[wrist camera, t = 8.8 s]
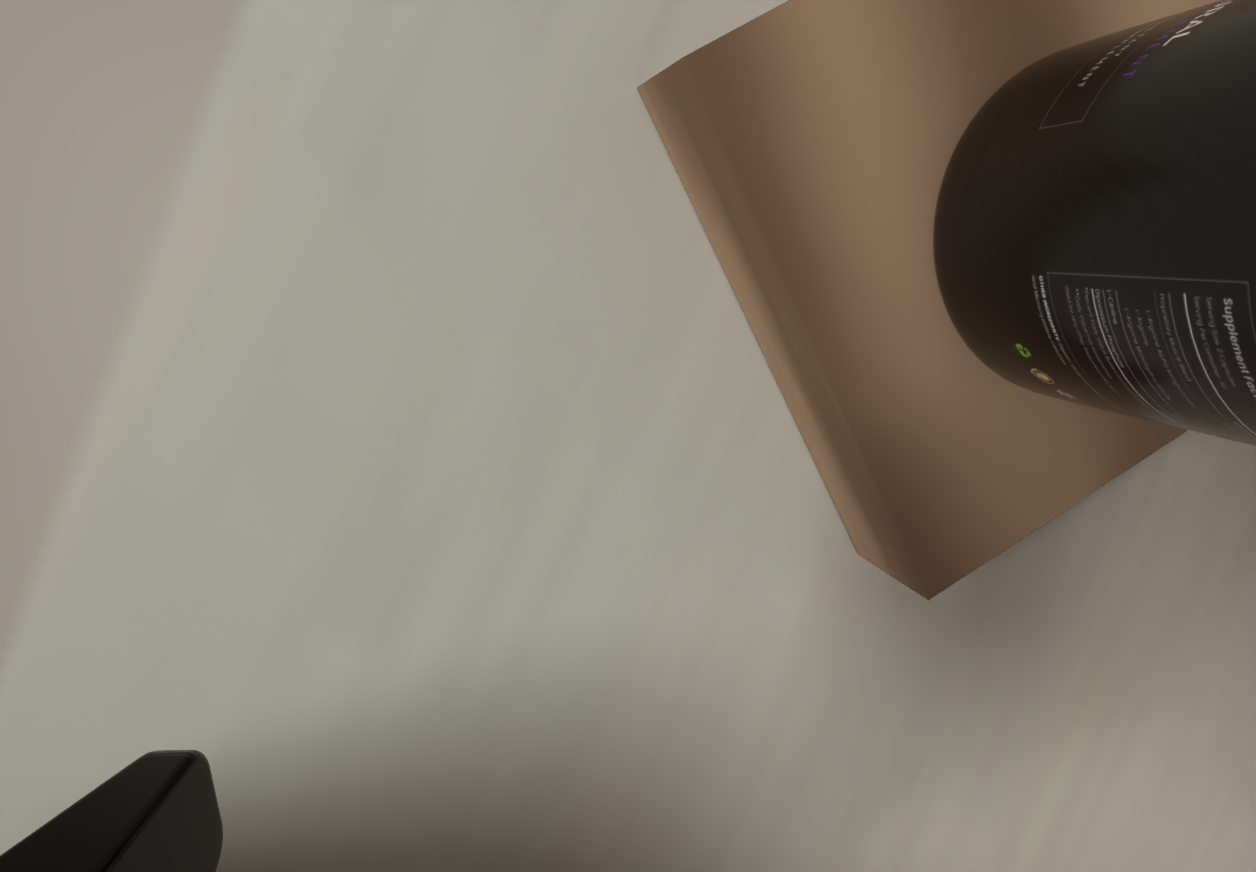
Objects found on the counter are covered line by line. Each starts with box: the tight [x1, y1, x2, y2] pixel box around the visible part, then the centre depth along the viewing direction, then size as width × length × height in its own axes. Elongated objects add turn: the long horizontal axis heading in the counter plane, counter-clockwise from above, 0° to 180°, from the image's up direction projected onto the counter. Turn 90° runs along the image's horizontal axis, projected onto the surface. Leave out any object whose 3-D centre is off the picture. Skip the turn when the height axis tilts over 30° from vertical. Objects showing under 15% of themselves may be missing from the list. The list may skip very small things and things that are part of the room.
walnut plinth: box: [637, 0, 1220, 600], centre depth 19 cm, size 12×12×3 cm
